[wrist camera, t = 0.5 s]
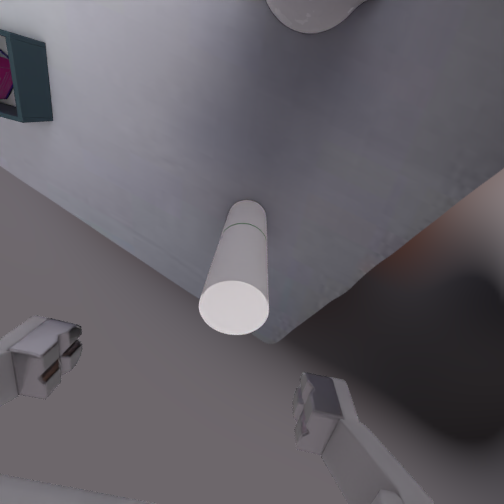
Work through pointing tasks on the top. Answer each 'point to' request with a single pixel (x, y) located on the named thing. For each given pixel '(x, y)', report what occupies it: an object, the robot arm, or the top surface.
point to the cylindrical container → (238, 273)
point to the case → (27, 80)
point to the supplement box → (5, 76)
